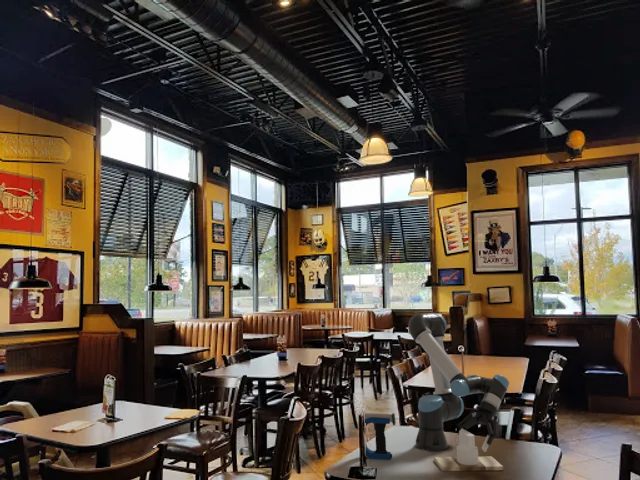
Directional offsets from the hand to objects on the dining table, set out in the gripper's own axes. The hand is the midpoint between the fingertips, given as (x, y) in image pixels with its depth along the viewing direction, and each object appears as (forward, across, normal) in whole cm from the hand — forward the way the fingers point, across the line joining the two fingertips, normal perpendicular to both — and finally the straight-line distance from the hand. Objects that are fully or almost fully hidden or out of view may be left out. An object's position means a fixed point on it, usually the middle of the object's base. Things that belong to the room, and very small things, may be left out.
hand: (470, 446), depth 216 cm
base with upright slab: (+6, +1, -4) cm, 7 cm away
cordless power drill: (+24, +31, +13) cm, 41 cm away
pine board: (+7, +1, -4) cm, 8 cm away
